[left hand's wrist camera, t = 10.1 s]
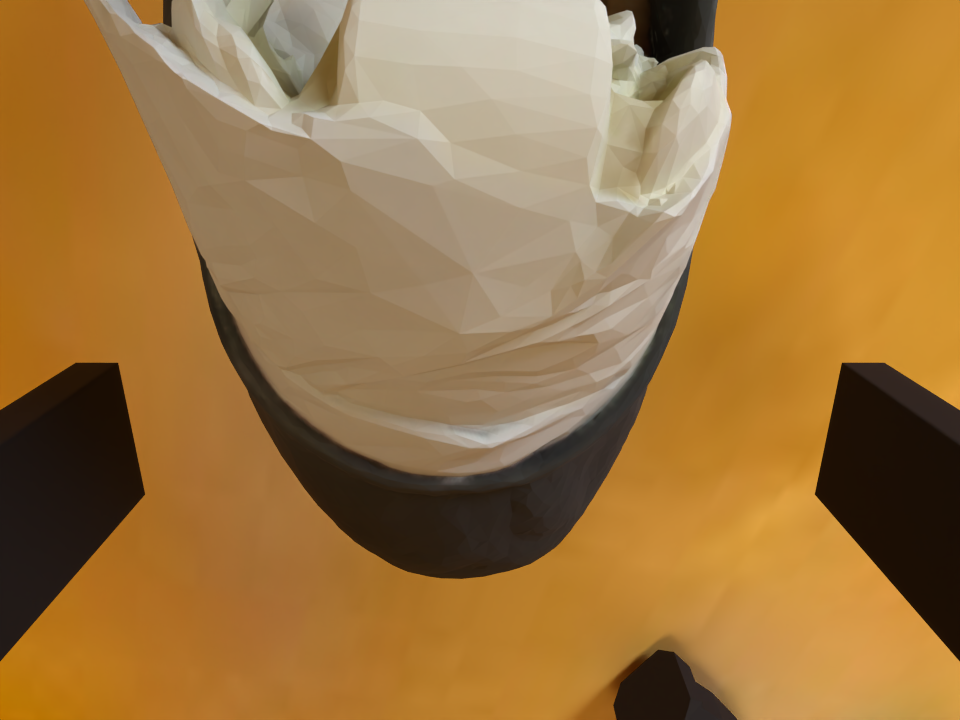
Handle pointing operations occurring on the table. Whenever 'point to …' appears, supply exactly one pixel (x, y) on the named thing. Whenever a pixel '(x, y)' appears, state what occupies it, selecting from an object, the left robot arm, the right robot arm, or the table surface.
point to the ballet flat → (438, 240)
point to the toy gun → (666, 693)
